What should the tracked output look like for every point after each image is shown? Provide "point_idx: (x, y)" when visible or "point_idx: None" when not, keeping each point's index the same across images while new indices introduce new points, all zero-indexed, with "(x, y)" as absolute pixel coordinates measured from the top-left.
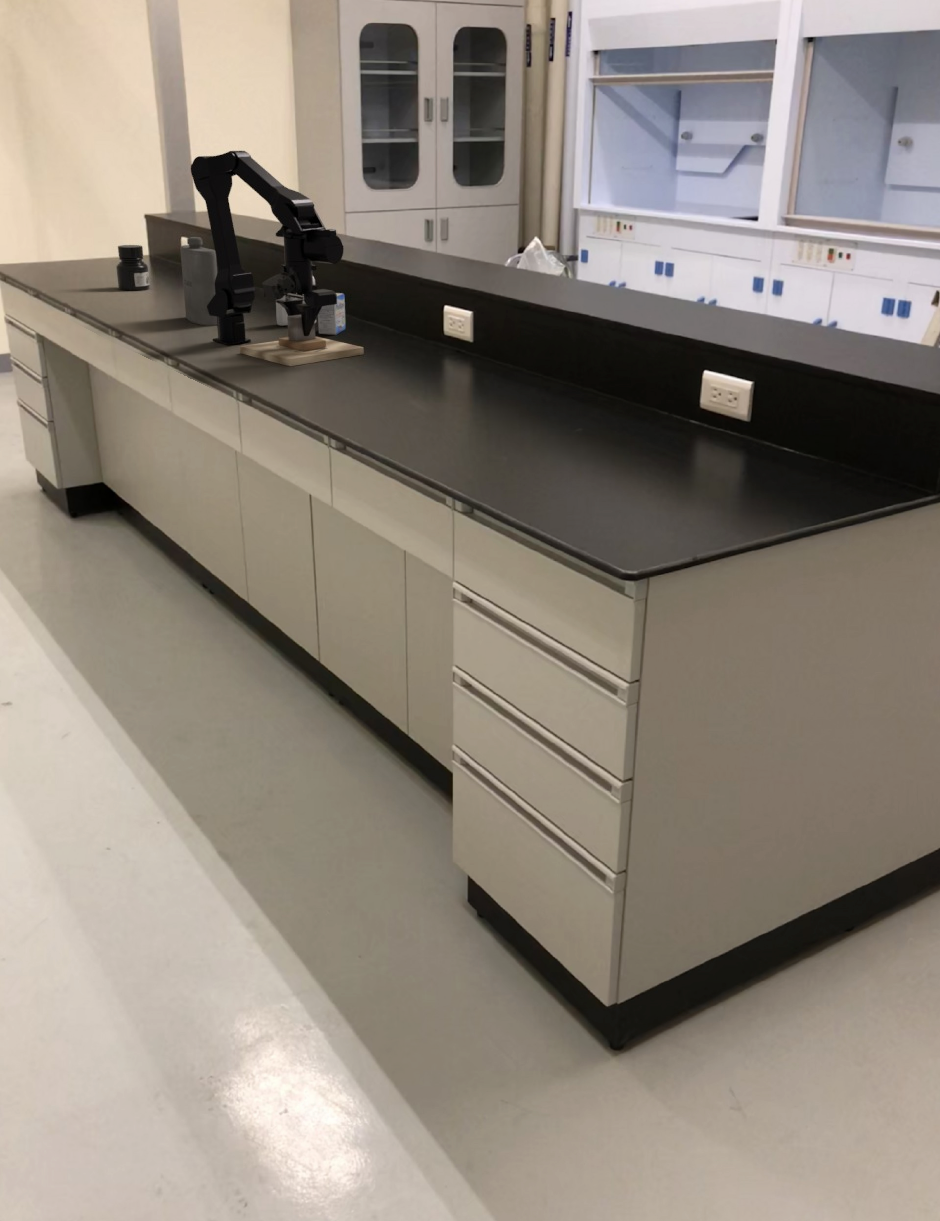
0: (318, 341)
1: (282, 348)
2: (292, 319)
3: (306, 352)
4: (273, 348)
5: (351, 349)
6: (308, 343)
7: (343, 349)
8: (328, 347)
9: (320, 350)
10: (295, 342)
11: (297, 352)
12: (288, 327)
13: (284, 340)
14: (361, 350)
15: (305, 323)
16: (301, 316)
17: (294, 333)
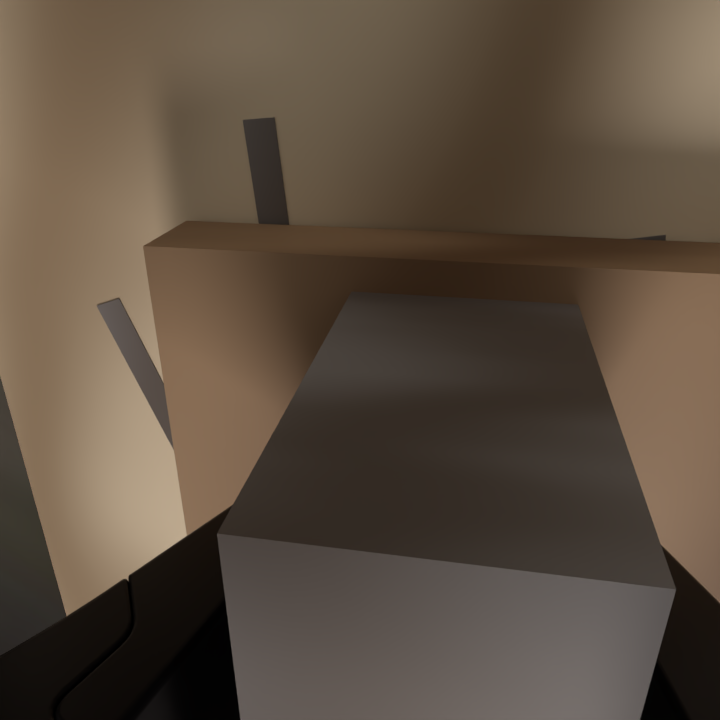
0: (181, 480)
1: (562, 132)
2: (393, 507)
3: (128, 205)
4: (678, 9)
5: (65, 603)
6: (158, 327)
7: (87, 562)
8: None
9: (147, 394)
10: (342, 252)
11: (185, 111)
12: (587, 401)
13: (648, 266)
14: None
15: (160, 564)
16: (156, 667)
17: (388, 343)
